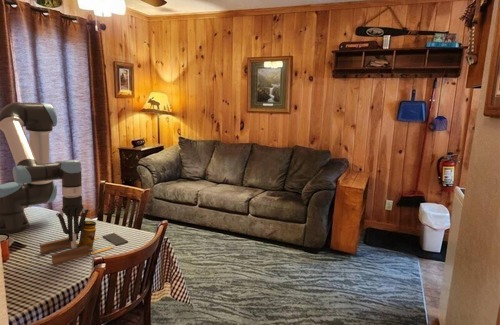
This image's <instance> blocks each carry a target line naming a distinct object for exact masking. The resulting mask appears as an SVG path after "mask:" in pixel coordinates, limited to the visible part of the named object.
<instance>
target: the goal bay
mask: <svg viewBox="0 0 500 325" xmlns="http://www.w3.org/2000/svg"><path fill="white" fill-rule="evenodd" d="M98 239H100V238H99V237H98V236H95V237H94V241H95V240H98ZM76 244H79V241H76ZM113 249H114V246H107V247H105V248H101V249H97V250H93V251H91V252H90V251H89V255H95V254H98V253H103V252H105V251H108V250H113Z"/></svg>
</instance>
